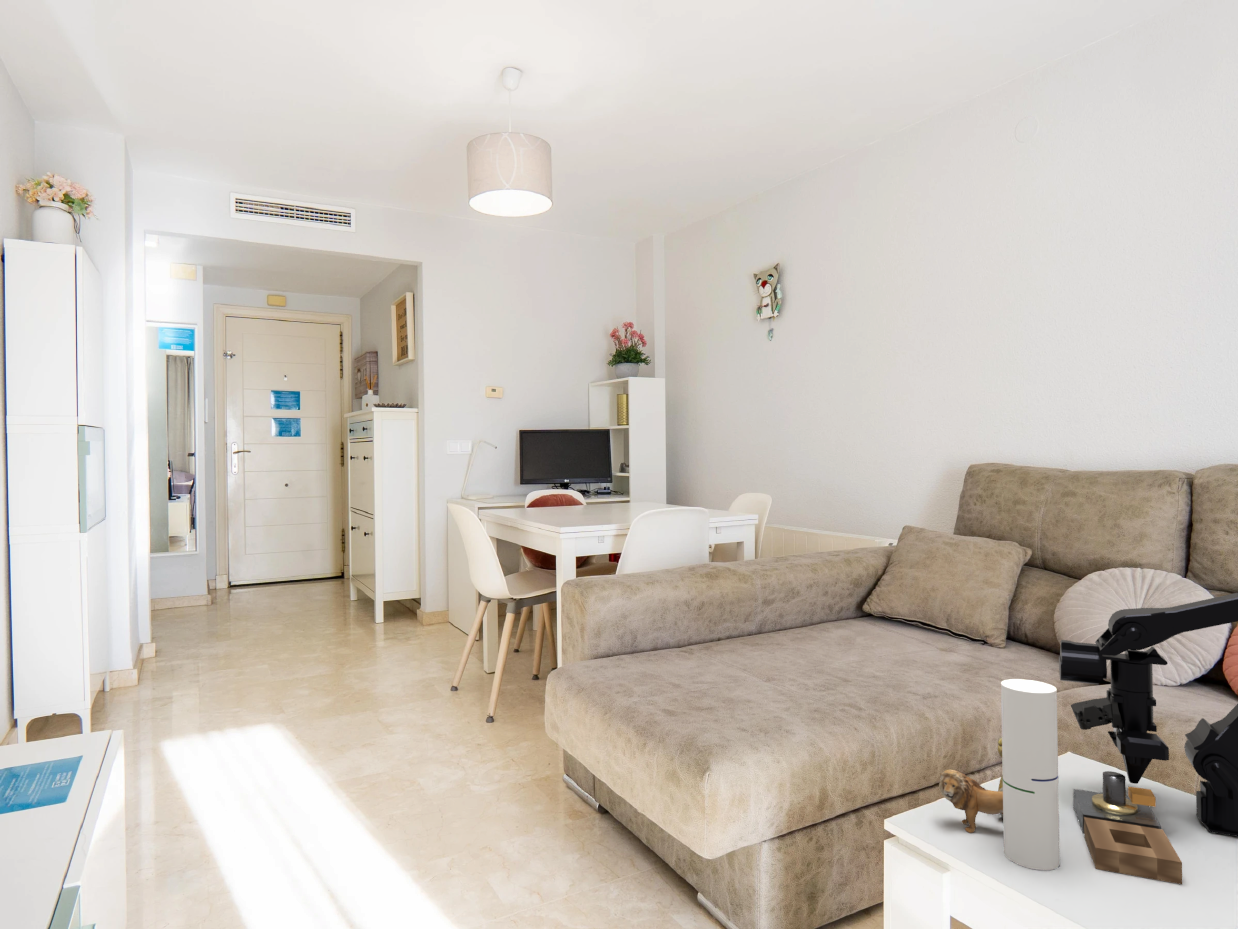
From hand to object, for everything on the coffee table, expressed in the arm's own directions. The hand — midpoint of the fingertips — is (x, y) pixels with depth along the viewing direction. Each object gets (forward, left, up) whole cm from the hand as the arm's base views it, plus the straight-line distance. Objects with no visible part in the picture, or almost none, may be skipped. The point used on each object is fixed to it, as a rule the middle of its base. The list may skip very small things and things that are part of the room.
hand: (1133, 782), depth 121 cm
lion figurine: (+22, +17, -5) cm, 29 cm away
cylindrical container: (+17, +23, -5) cm, 29 cm away
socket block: (+4, +7, -5) cm, 9 cm away
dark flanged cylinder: (+4, +7, -5) cm, 9 cm away
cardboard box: (0, +6, -1) cm, 6 cm away
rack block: (+4, +18, -5) cm, 19 cm away
